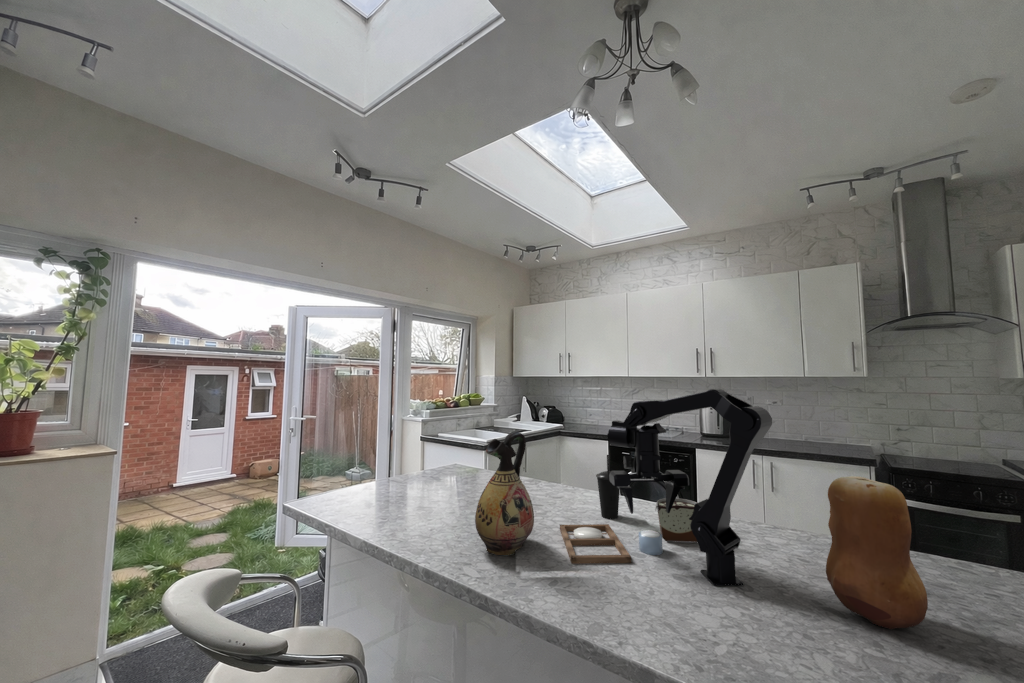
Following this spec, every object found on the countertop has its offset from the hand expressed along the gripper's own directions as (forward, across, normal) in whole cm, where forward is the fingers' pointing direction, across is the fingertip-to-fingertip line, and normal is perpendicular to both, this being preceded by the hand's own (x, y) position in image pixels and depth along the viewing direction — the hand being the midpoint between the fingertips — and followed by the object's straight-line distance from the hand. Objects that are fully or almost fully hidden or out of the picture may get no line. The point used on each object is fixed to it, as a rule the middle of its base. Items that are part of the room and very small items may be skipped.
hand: (649, 513), depth 104 cm
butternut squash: (+10, -31, +29) cm, 44 cm away
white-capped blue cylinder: (+10, 0, 0) cm, 10 cm away
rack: (+10, +14, -4) cm, 18 cm away
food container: (+10, -11, -11) cm, 19 cm away
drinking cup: (+10, +4, -26) cm, 28 cm away
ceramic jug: (+10, +36, -5) cm, 38 cm away
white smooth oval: (+9, +14, -10) cm, 19 cm away
